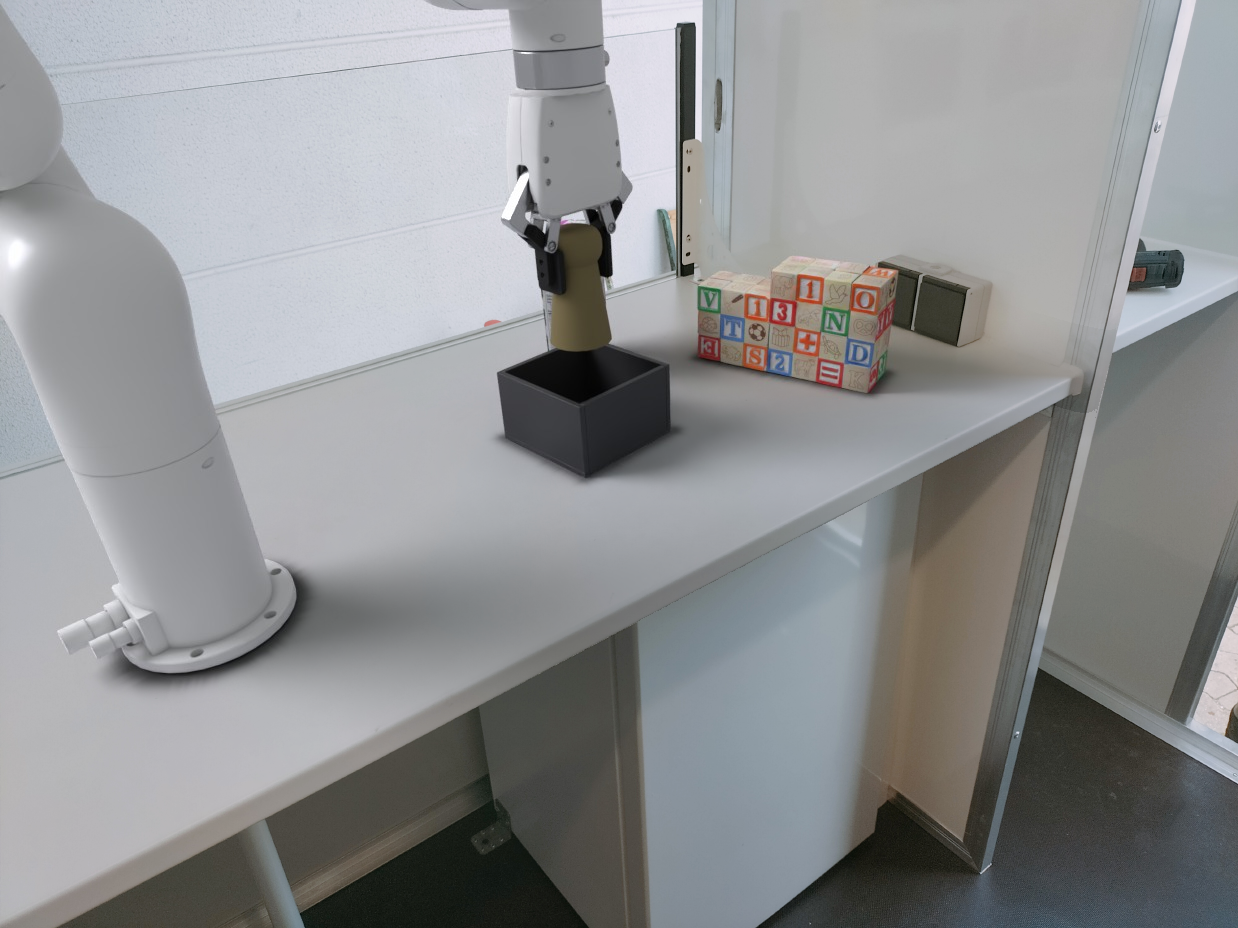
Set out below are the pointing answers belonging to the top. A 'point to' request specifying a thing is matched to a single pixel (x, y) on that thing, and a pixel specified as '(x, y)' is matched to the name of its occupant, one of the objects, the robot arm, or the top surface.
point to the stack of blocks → (801, 320)
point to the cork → (580, 292)
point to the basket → (585, 405)
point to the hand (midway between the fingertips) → (576, 281)
